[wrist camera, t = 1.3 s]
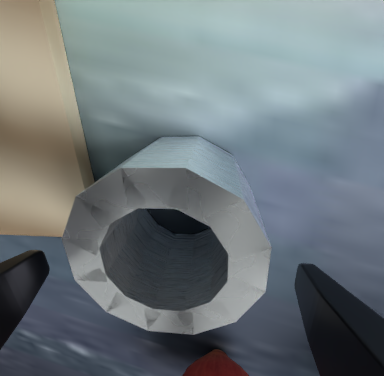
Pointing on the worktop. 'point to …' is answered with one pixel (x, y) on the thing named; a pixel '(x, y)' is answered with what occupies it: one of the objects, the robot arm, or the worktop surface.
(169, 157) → the steel ring
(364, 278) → the worktop surface
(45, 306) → the worktop surface
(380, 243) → the worktop surface
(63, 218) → the post board
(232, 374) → the onion
